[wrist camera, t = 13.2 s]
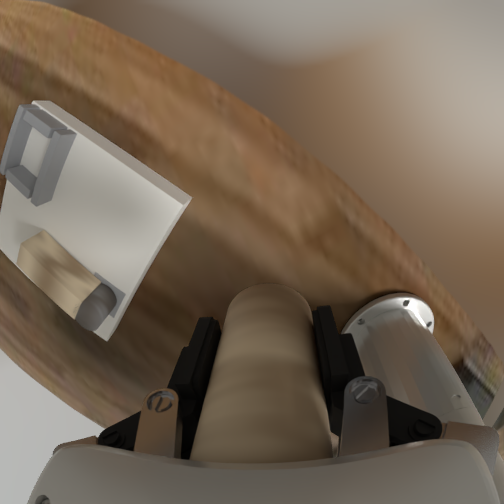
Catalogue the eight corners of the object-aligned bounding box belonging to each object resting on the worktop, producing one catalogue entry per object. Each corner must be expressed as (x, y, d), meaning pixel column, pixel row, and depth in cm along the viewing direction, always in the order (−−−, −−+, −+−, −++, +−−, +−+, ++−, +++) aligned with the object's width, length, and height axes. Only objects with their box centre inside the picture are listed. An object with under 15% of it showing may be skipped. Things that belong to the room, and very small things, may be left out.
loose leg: (329, 313, 13) (369, 500, 4) (275, 362, 14) (270, 528, 6) (260, 266, 12) (236, 477, 4) (211, 325, 13) (157, 500, 5)
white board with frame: (192, 197, 26) (173, 213, 21) (116, 327, 33) (98, 354, 27) (50, 100, 22) (17, 100, 17) (9, 236, 29) (-16, 251, 24)
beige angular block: (120, 296, 27) (103, 318, 23) (110, 314, 28) (93, 336, 24) (44, 229, 24) (20, 242, 21) (38, 250, 25) (16, 264, 22)
